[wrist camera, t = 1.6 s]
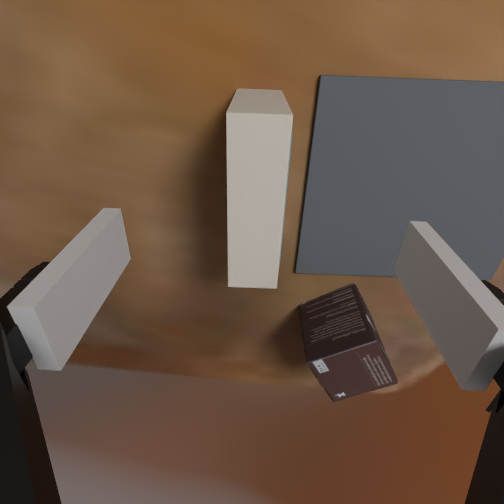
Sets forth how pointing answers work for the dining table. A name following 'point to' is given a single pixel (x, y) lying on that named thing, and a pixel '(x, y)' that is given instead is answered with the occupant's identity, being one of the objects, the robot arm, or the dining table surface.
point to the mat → (403, 173)
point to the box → (344, 344)
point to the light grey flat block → (256, 185)
